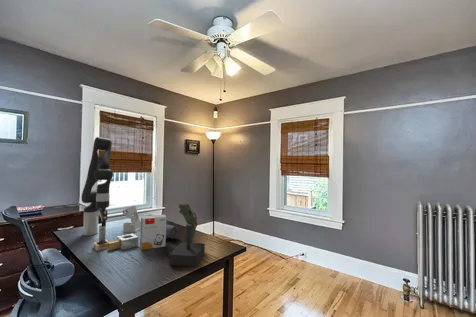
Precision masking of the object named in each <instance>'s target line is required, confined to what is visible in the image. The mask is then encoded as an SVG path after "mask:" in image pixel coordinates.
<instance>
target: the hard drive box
mask: <svg viewBox="0 0 476 317" xmlns="http://www.w3.org/2000/svg"><path fill="white" fill-rule="evenodd" d="M140 222H141V229H140V230H139V231H140V234H139V237H140V238H139V240H140V241H139V248H140V250H141V251H142V250H149V249H156V248H163V247H164V248H165V247H166V244H167V243H166V240H167V239H166V225H167V215H166V214H156V215H155V214H153V215H142V216H140Z"/></svg>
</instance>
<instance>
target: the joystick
mask: <svg viewBox="0 0 476 317" xmlns="http://www.w3.org/2000/svg"><path fill="white" fill-rule="evenodd" d="M191 228H192V225H191V224H188V223H187V224H186V225H185V230H186V229H187V243H184V242H185V241H184V242H180V243H179V244H177V246H176V247H175V248H174V249H173V250H172V251H170V252H169V253H168V255H167V256H168V259H169V265H170V266H173V267H174V266H175V267H176V266H177V267H188V268H190V267H191V268H196V267H197V266H198V264H199V263H200V261H201V259H203V256H204V255H205V249H206V245H205V243H200V242H197V243H196V242H193V243H191Z"/></svg>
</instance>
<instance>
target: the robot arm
mask: <svg viewBox="0 0 476 317" xmlns="http://www.w3.org/2000/svg"><path fill="white" fill-rule="evenodd" d="M112 144H113V143H112V139H110V138H106V137H102V136H97V137H95V139H94V141H93V147H92V152H91V153H92V154H91V159H90V163H89V166H88V169H87V175H86V180H85V184H84V187H83V190H82V193H81V199H80V200H81V202H82V203H83V204H89V203H90V204H89V205H87V206H85V207H84V208H83V227H82V229H83V230H82V231H83V232H82V234H83V236H85V235H86V237H87V236H88V237H89V236H95V235H96V234H99V225H102V227H104V226H106V227H107V220H108V209H107V208H109V207H110V185H111V182H112V179H113V177H114V173H113V170H112V169H110V166H111V165H110V158H111V152H112V146H113V145H112ZM99 151H104V152H103V153H102V154H101V155H100V156H99V153H98V152H99ZM98 181H105V182H103V183H98V184H97V185H96V189H93V187H94V185H95V184H96V183H97V182H98Z"/></svg>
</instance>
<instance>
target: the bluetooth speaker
mask: <svg viewBox="0 0 476 317" xmlns="http://www.w3.org/2000/svg"><path fill="white" fill-rule="evenodd" d="M177 235H178V228H177V226H174V225H171V224H166V240H167V239H175V237H176V236H177Z"/></svg>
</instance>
